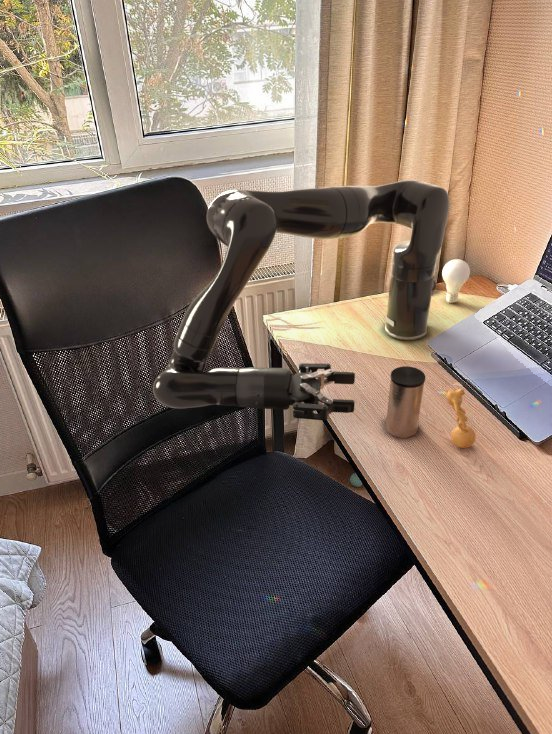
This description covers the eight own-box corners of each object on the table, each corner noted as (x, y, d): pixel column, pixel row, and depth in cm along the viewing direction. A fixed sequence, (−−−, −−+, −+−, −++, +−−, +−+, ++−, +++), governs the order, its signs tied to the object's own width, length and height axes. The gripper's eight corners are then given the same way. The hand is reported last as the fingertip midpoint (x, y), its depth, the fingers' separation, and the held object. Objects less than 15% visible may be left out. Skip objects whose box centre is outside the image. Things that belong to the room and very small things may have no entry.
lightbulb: (469, 301, 145) (476, 259, 139) (456, 310, 141) (464, 267, 135) (445, 294, 149) (452, 253, 142) (433, 303, 145) (439, 261, 139)
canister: (384, 417, 109) (390, 365, 103) (416, 419, 109) (424, 366, 102) (385, 437, 105) (391, 384, 98) (418, 439, 104) (427, 385, 97)
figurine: (478, 461, 99) (491, 404, 92) (441, 460, 99) (452, 403, 92) (468, 430, 105) (480, 375, 98) (434, 429, 106) (443, 374, 99)
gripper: (257, 394, 98) (355, 398, 96) (268, 350, 109) (355, 352, 107) (259, 428, 103) (353, 433, 100) (269, 382, 114) (353, 386, 112)
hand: (354, 391), depth 104 cm, fingers open, 8 cm apart
